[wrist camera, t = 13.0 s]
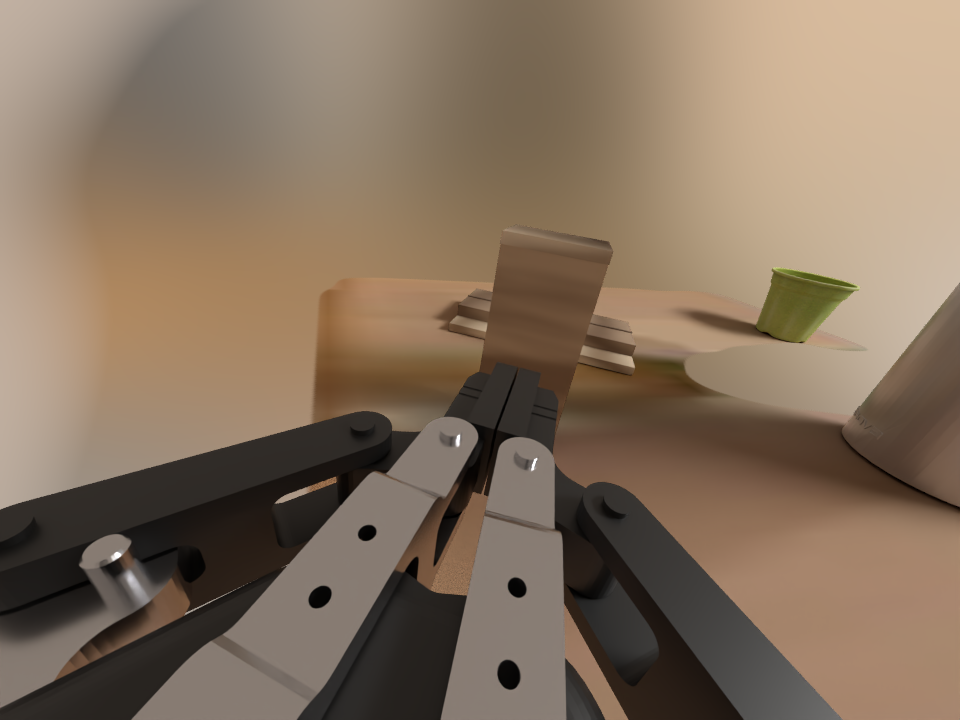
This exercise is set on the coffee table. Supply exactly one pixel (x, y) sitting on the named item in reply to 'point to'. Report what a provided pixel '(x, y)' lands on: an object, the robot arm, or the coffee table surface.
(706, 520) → the coffee table surface
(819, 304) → the plant pot
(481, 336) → the floor board
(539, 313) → the plank
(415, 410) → the coffee table surface
